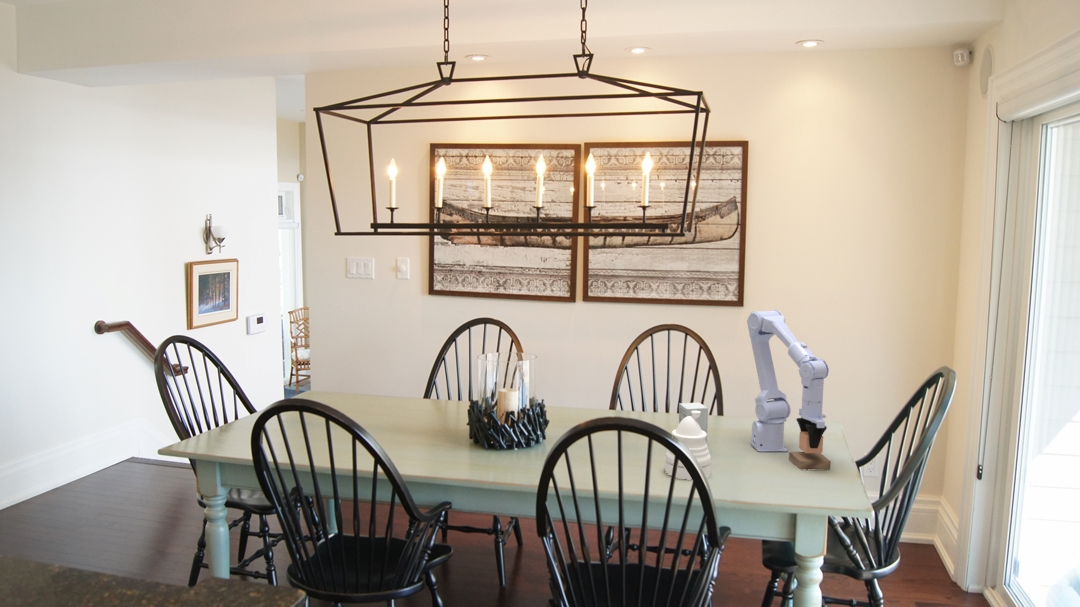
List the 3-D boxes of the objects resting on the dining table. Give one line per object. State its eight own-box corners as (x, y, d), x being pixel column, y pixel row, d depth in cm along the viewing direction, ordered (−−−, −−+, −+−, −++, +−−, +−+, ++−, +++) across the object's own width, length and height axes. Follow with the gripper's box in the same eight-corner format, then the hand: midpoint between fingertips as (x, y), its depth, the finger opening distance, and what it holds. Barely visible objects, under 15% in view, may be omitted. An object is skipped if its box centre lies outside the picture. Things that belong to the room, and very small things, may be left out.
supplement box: (698, 439, 253) (700, 401, 251) (707, 445, 246) (708, 407, 244) (677, 440, 252) (678, 402, 250) (685, 447, 244) (686, 408, 243)
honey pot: (701, 464, 228) (703, 405, 226) (717, 479, 215) (719, 417, 213) (659, 466, 226) (661, 406, 224) (673, 481, 213) (674, 418, 211)
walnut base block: (799, 471, 223) (800, 461, 223) (788, 461, 232) (789, 451, 232) (830, 471, 224) (830, 461, 223) (818, 461, 233) (818, 451, 232)
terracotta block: (805, 453, 225) (806, 436, 224) (799, 447, 230) (799, 431, 229) (822, 452, 225) (823, 436, 225) (815, 447, 230) (816, 431, 229)
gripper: (836, 406, 219) (833, 452, 220) (815, 394, 233) (813, 437, 235) (811, 406, 218) (809, 452, 220) (793, 394, 233) (791, 437, 234)
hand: (810, 445), depth 227 cm, fingers closed on terracotta block, 5 cm apart
